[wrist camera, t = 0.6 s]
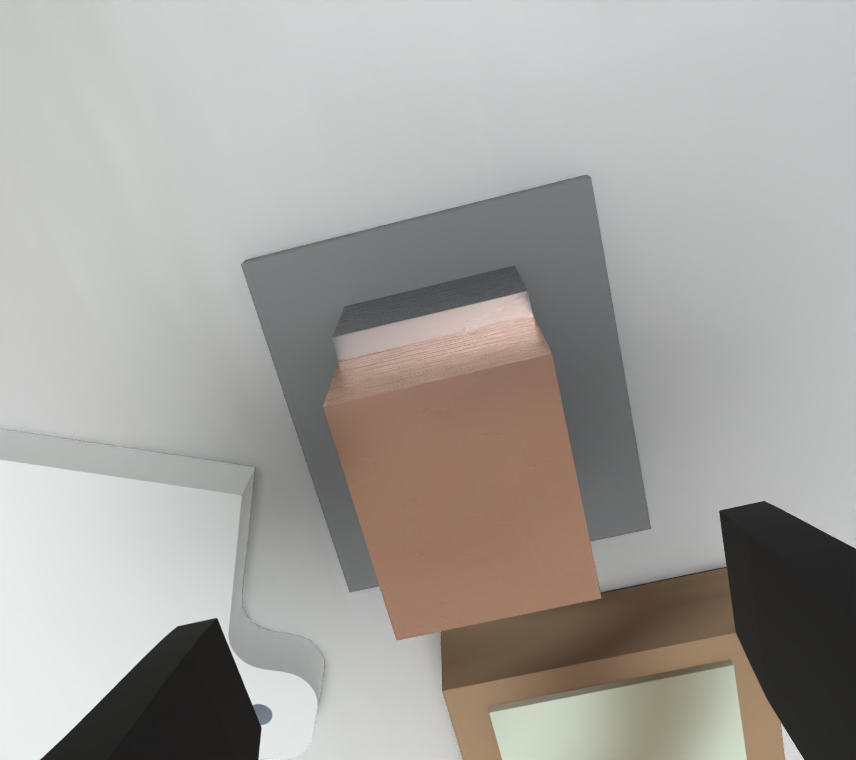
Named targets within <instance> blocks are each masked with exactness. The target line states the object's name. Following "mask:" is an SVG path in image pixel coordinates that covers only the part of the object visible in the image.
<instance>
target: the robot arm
mask: <svg viewBox="0 0 856 760" xmlns="http://www.w3.org/2000/svg"><path fill="white" fill-rule="evenodd" d="M719 513H720V521H721V528H722V535H723V543H724V550H725V557H726V565H727V572H728V580H729V587H730V594H731V602H732V609H733V616H734V624H735V631H736V634H737V637H738V639H739V641H740V643H741V645H742V647H743V650H744V652H745V654H746V656H747V658H748V660H749V663H750V665H751V667H752V669H753V671H754V673H755V675H756V677H757V680H758V682H759V684H760V686H761V688H762V690H763V692H764V694H765V696H766V698H767V700H768V702H769V703H770V705H771V707H772V708H773V710H774V712H775V713H776V715H777V716H778V718H779V720H780V721H781V723H782V725H783V726H784V728H785V729H786V731H787V733H788V734H789V736H790V737H791V739H792V741H793V742H794V744H795V745H796V747H797V749H798V750H799V752H800V753H801V755H802V757H803V758H804V760H856V549H855V548H853V547H851V546H849V545H847V544H845V543H844V542H842V541H840V540H838V539H836V538H834V537H832V536H830V535H828V534H826V533H825V532H823V531H821V530H819V529H817V528H815V527H813V526H811V525H810V524H808V523H806V522H804V521H802V520H800V519H798V518H796V517H795V516H793V515H791V514H789V513H787V512H785V511H783V510H781V509H779V508H777V507H775V506H773V505H771V504H769V503H767V502H765V501H763V502H758V503H753V504H749V505H744V506H739V507H734V508H730V509H725V510H720V511H719ZM261 729H262V727H261V725H260V722H259V720H258V717H257V715H256V712H255V710H254V707H253V705H252V703H251V700H250V698H249V695H248V693H247V690H246V688H245V685H244V683H243V680H242V678H241V675H240V673H239V670H238V668H237V665H236V663H235V661H234V658H233V656H232V653H231V651H230V648H229V646H228V643H227V641H226V638H225V636H224V633H223V631H222V628H221V626H220V623H219V621H218V619H217V618H214V619H209V620H204V621H200V622H195V623H190V624H186V625H181V626H177V627H176V628H175V629H174V630H172V631H171V632H170V633H169V634H168V635H167V636H165V637H164V638H163V639H162V640H161V641H160V642H159V643H158V644H157V645H156V646H155V647H154V648H153V649H152V650H151V651H150V652H149V653H148V654H147V655H146V656H144V657H143V658H142V659H141V660H140V661H139V662H138V663H137V664H136V665H135V666H134V667H133V669H132V670H131V671H130V672H129V673H128V674H127V675H126V676H125V677H124V678H123V679H122V680H121V681H120V682H119V683H118V684H117V685H116V686H115V687H114V688H113V689H112V690H111V691H110V692H109V693H108V694H107V695H106V696H105V697H104V698H103V699H102V700H101V701H100V702H99V703H98V704H97V705H96V706H95V707H94V708H93V709H92V710H91V711H90V712H89V713H88V714H87V715H86V716H85V717H84V718H83V719H82V720H81V721H80V722H79V723H78V724H77V725H76V726H75V727H74V728H73V729H72V730H71V731H70V732H69V733H68V734H67V735H66V736H65V737H64V738H63V739H62V740H61V741H59V742H58V743H57V744H56V745H55V746H54V747H53V748H52V749H51V750H50V751H49V752H48V753H47V754H46V755H45V756H44V757H42V758H41V759H40V760H258V758H259V748H260V739H261Z"/></svg>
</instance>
